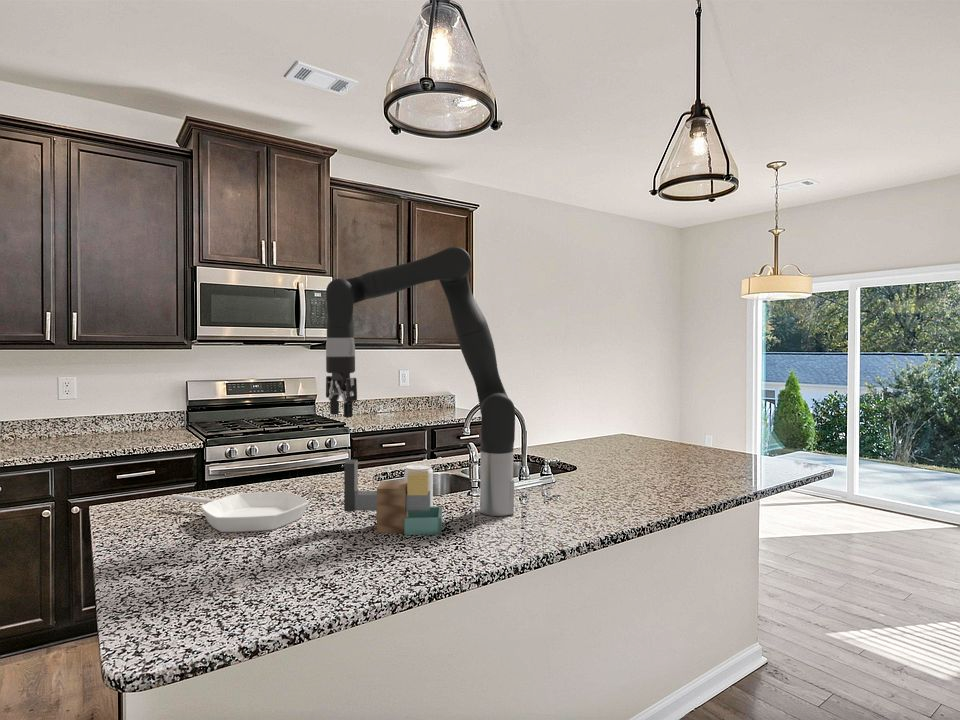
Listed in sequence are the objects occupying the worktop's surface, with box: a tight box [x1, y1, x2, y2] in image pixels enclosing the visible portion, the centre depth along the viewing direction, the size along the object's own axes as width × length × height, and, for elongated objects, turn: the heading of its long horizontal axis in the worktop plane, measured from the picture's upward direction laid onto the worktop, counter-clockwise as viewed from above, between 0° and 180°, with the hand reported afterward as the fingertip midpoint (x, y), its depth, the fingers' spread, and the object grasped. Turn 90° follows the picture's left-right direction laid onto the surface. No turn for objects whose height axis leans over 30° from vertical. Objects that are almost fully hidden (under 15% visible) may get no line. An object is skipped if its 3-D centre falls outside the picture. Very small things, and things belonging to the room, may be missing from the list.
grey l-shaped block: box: [343, 459, 430, 512], centre depth 152 cm, size 21×5×12 cm, turn 92°
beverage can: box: [403, 463, 434, 506], centre depth 171 cm, size 8×8×12 cm
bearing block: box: [376, 480, 408, 534], centre depth 152 cm, size 7×8×11 cm
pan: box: [170, 491, 309, 534], centre depth 162 cm, size 28×41×4 cm
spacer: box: [408, 471, 429, 495], centre depth 153 cm, size 5×5×5 cm
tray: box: [403, 505, 443, 536], centre depth 153 cm, size 9×11×4 cm
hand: (341, 415), depth 159 cm, fingers open, 8 cm apart
